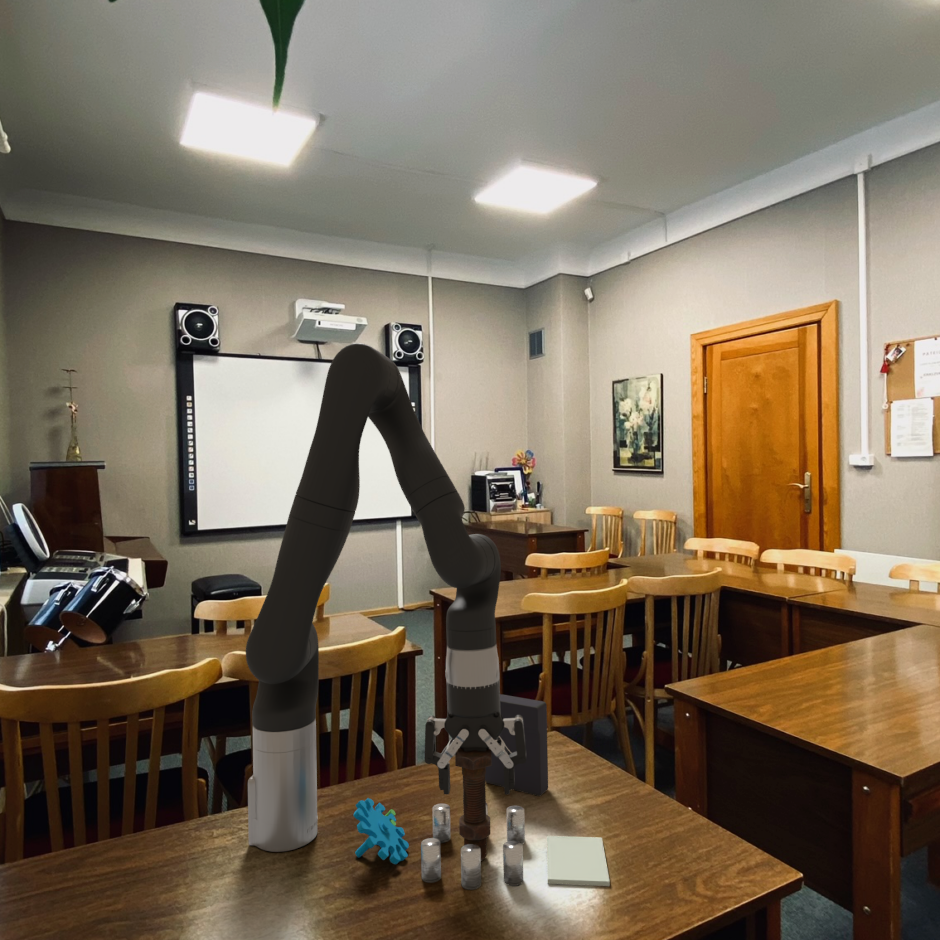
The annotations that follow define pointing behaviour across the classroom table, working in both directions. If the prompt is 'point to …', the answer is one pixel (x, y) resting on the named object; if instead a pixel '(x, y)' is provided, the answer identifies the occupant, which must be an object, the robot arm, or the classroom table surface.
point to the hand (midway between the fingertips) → (477, 792)
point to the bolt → (474, 797)
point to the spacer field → (474, 850)
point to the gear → (380, 831)
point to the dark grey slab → (535, 768)
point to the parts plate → (576, 861)
